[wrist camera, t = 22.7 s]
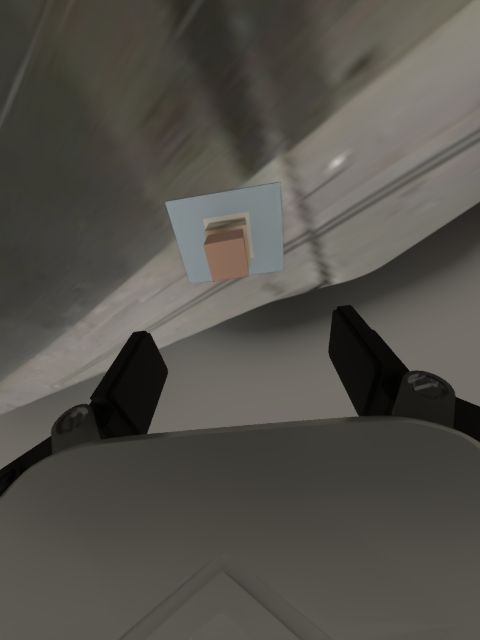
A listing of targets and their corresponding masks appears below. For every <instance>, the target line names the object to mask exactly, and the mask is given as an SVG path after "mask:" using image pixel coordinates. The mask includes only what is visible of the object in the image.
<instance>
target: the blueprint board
mask: <svg viewBox="0 0 480 640" xmlns="http://www.w3.org/2000/svg"><path fill="white" fill-rule="evenodd" d="M165 203H166V206H167V210H168V213H169V216H170V219H171V223H172V226H173V229H174V233H175V236H176V239H177V243H178V246H179V249H180V252H181V256H182V259H183V262H184V266H185V269H186V272H187V276H188V279H189V282H190V283H197V282H204V281H212V276H211V273H210V269H209V265H208V261H207V258H206V254H205V250H204V246H203V244H204V242H205V240H206V237H205V233H204V231H205V229H206V227H207V226H208V224H209V223H213V222H219V221H225V220H231V219H237V218H243V217H245V219H246V226H247V234H248V242H249V250H250V258H251V266H248V269H249V275H254V274H261V273H269V272H276V271H283V270H284V261H283V231H282V201H281V182H277V183H272V184H266V185H260V186H254V187H248V188H243V189H237V190H231V191H225V192H219V193H214V194H208V195H202V196H196V197H190V198H184V199H179V200H173V201H167V202H165Z"/></svg>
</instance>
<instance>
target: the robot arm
mask: <svg viewBox="0 0 480 640" xmlns="http://www.w3.org/2000/svg"><path fill="white" fill-rule="evenodd" d="M328 352H329V356H330V359H331V361H332V363H333V365H334V367H335V369H336V371H337V373H338V375H339V377H340V379H341V381H342V383H343V385H344V387H345V389H346V391H347V393H348V395H349V398H350V400H351V402H352V404H353V406H354V408H355V410H356V412H357V414H358V415H359V417H344V418H328V419H315V420H303V421H291V422H278V423H266V424H254V425H243V426H231V427H220V428H209V429H197V430H186V431H176V432H164V433H153V434H147V432H148V429H149V426H150V424H151V420H152V418H153V415H154V412H155V409H156V406H157V404H158V400H159V398H160V395H161V392H162V389H163V386H164V383H165V381H166V378H167V374H168V369H167V367H166V365H165V363H164V361H163V358H162V356H161V354H160V352H159V350H158V348H157V346H156V344H155V342H154V340H153V338H152V336H151V334H150V333H147V332H146V331H138V332H133V333H132V335H131V336H130V338H129V339H128V341H127V342H126V344H125V345H124V347H123V348H122V350H121V351H120V353H119V354H118V356H117V358H116V359H115V361H114V362H113V364H112V365H111V367H110V368H109V370H108V371H107V373H106V374H105V376H104V377H103V379H102V381H101V382H100V384H99V385H98V387H97V388H96V390H95V391H94V393H93V394H92V396H91V397H90V399H91V400H92V401H91V403H90V404H89V405H88V404H80V405H76V406H74V407H72V408H70V409H69V410H67V411H66V412H64V413H63V414H62V415H61V416H60V417H59V418H58V419H57V420H56V422H55V423H54V425H53V427H52V429H51V436H50V437H49V438H47V439H46V440H44V441H43V442H41V443H40V444H38V445H37V446H35V447H34V448H32V449H31V450H29V451H28V452H26V453H25V454H23V455H22V456H20V457H19V458H17V459H16V460H14V461H13V462H11V463H10V464H8V465H7V466H5V467H4V468H2V469H1V470H0V640H480V407H479V406H477V405H474V404H472V403H469V402H467V401H464V400H462V399H459V398H457V397H456V396H455V391H454V389H453V388H452V386H451V385H450V384H449V383H448V382H447V381H445V380H444V379H442V378H441V377H439V376H437V375H435V374H432V373H429V372H425V371H417V370H416V371H409V370H408V368H407V367H406V366H405V365H404V364H403V363H402V361H401V360H400V359H399V358H398V357H397V356H396V355H395V353H394V352H393V351H392V350H391V349H390V348H389V346H388V345H387V344H386V343H385V342H384V341H383V339H382V338H381V337H380V336H379V335H378V334H377V333H376V331H374V330H372V329H371V328H370V327H369V326H368V325H367V324H366V322H365V321H364V320H363V319H362V318H361V316H360V315H359V314H358V313H357V312H356V310H355V309H354V308H353V307H352V306H351V305H346V306H338V307H337V309H336V310H333V316H332V324H331V332H330V341H329V351H328Z"/></svg>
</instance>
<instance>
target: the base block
mask: <svg viewBox="0 0 480 640" xmlns="http://www.w3.org/2000/svg"><path fill="white" fill-rule="evenodd" d="M238 229H243V235H244V241H245V248H246V254H247V261H248V266H251V258H250V250H249V242H248V234H247V226H246V219H245V217H243V218H237V219H231V220H225V221H219V222H213V223H209V224H208V226H207V227H206V229H205V231H204V233H205V237H206V238H207V236H208V235H211V234H217V233H222V232H228V231H233V230H238Z"/></svg>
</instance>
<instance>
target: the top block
mask: <svg viewBox="0 0 480 640" xmlns="http://www.w3.org/2000/svg"><path fill="white" fill-rule="evenodd" d="M203 246H204V250H205V254H206V258H207V261H208V265H209V269H210V273H211V276H212V280H213V282H215V281H221V280H227V279H233V278H240V277H246V276H249V269H248V261H247V254H246V248H245V241H244V235H243V229H238V230H233V231H228V232H222V233H217V234H211V235H208V236H207V238H206V240H205V242H204V244H203Z"/></svg>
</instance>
